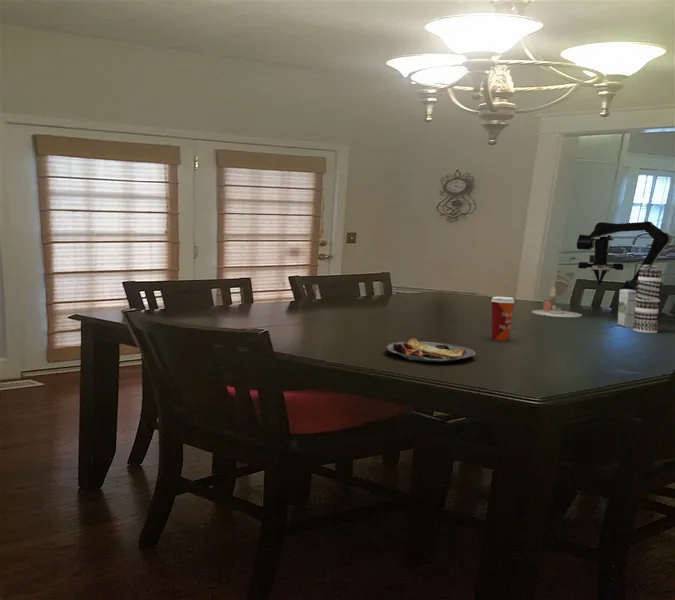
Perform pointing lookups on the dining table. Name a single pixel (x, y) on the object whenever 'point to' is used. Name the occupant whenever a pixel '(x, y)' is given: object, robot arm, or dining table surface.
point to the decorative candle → (647, 299)
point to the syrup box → (627, 307)
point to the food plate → (429, 351)
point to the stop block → (547, 306)
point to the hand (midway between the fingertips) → (599, 285)
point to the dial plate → (557, 313)
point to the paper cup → (501, 317)
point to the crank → (553, 298)
